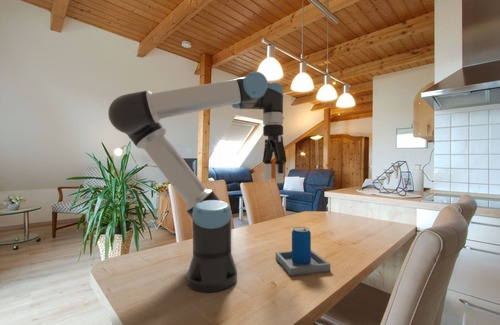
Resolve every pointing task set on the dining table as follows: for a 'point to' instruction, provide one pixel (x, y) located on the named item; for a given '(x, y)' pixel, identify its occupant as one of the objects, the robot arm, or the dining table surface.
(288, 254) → the tray
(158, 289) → the dining table surface
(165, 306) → the dining table surface
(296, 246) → the beverage can
